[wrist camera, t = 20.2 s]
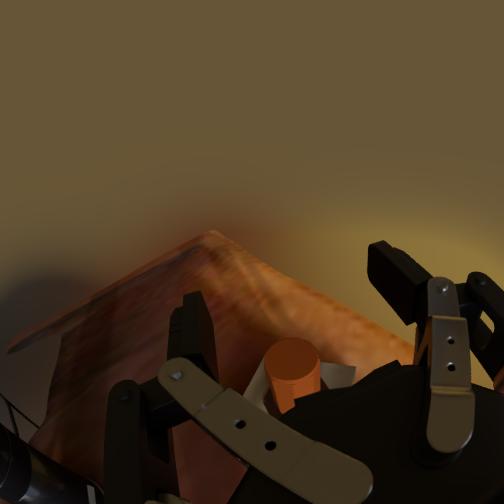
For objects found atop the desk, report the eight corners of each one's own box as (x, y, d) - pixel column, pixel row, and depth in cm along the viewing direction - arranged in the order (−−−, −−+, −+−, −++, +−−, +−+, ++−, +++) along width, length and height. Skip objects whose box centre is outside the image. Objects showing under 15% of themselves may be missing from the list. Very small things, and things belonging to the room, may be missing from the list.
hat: (254, 416, 29) (237, 380, 24) (279, 367, 34) (269, 323, 30) (318, 433, 25) (317, 400, 20) (337, 379, 31) (339, 334, 26)
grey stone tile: (230, 433, 29) (224, 426, 28) (269, 360, 39) (266, 350, 37) (328, 461, 23) (329, 456, 22) (354, 376, 33) (356, 366, 32)
